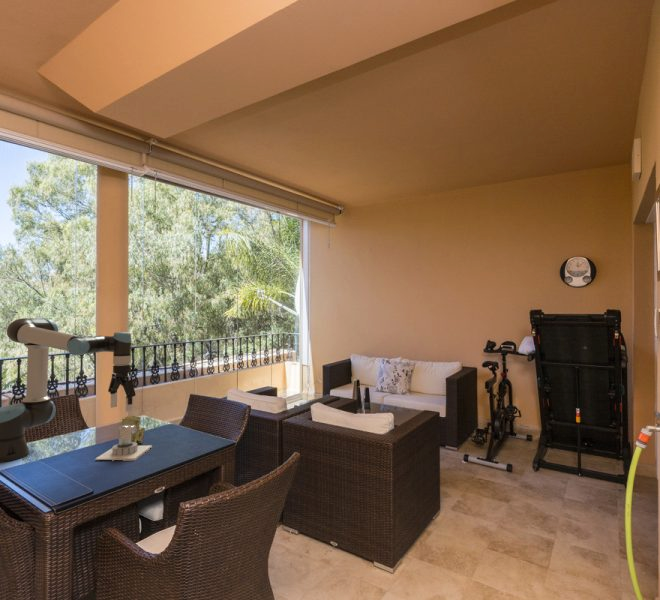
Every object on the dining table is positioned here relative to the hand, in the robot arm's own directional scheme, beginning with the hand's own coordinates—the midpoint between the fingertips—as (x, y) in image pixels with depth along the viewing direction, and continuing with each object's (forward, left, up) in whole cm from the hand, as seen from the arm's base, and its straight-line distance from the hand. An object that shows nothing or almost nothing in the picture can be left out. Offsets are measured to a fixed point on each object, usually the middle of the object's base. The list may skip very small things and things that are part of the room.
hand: (121, 409), depth 196 cm
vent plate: (+2, 0, -21) cm, 21 cm away
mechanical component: (-1, +15, -22) cm, 27 cm away
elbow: (+2, +1, -20) cm, 20 cm away
